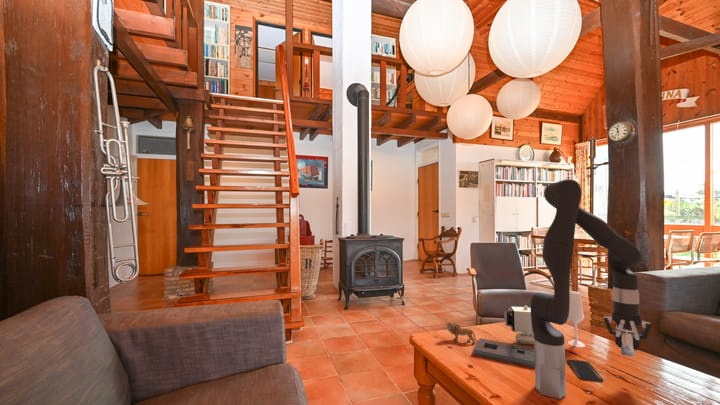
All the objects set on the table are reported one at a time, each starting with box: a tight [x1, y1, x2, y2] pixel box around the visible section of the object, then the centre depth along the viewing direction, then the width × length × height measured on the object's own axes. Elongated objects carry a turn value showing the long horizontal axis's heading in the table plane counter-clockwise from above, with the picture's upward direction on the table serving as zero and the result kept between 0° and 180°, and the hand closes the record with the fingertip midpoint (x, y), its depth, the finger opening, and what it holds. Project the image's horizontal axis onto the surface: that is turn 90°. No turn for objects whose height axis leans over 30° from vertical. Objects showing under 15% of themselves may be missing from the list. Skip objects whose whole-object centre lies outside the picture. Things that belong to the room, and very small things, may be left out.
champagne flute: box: [567, 290, 586, 348], centre depth 149 cm, size 7×7×24 cm
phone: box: [566, 359, 604, 383], centre depth 124 cm, size 8×1×15 cm
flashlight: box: [619, 329, 636, 358], centre depth 115 cm, size 4×4×8 cm
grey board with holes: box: [472, 338, 535, 369], centre depth 139 cm, size 14×24×2 cm, turn 59°
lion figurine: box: [446, 321, 478, 345], centre depth 154 cm, size 15×5×9 cm, turn 71°
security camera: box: [503, 305, 534, 346], centre depth 150 cm, size 18×8×18 cm, turn 75°
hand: (627, 347), depth 115 cm, fingers closed on flashlight, 4 cm apart
